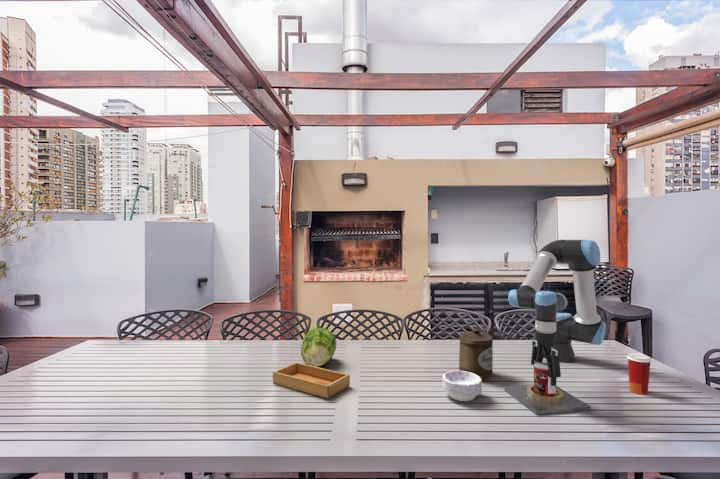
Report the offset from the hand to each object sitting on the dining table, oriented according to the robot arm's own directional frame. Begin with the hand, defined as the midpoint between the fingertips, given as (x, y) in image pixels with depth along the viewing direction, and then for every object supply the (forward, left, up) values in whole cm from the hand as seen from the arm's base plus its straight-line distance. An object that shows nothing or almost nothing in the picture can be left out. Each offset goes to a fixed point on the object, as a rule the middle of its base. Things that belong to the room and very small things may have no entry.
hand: (545, 388), depth 150 cm
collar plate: (0, 0, -4) cm, 4 cm away
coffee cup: (-1, +43, -5) cm, 43 cm away
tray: (-29, -91, -5) cm, 96 cm away
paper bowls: (-8, -31, -5) cm, 32 cm away
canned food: (0, 0, -2) cm, 2 cm away
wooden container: (-29, -15, -5) cm, 33 cm away
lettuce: (-55, -86, -5) cm, 102 cm away
